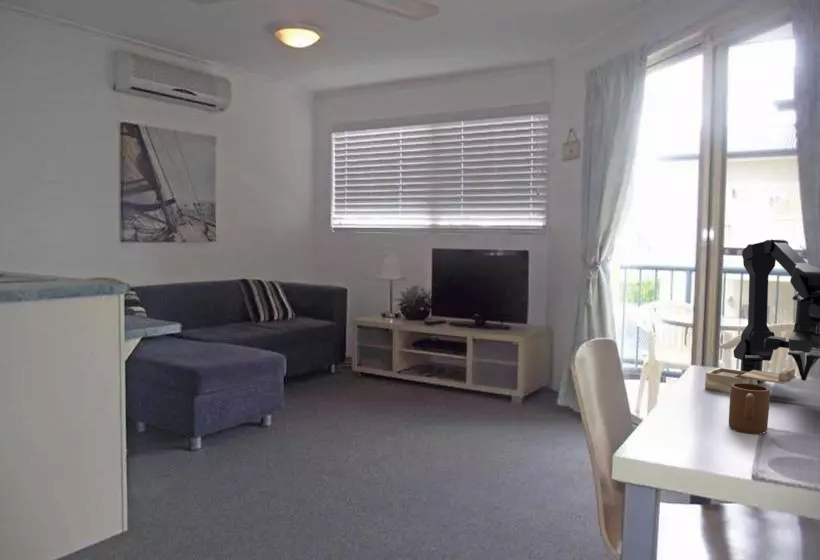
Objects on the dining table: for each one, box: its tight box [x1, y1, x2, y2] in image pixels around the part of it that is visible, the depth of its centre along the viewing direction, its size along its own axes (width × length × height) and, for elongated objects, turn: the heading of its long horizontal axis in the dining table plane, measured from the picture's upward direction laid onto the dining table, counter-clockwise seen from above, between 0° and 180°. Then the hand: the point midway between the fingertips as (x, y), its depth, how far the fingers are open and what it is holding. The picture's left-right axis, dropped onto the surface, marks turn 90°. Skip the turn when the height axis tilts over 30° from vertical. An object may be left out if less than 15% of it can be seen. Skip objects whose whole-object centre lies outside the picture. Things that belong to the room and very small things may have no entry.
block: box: [718, 372, 740, 378], centre depth 185 cm, size 4×4×4 cm
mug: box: [728, 383, 771, 435], centre depth 144 cm, size 12×8×9 cm, turn 153°
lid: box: [740, 367, 796, 385], centre depth 178 cm, size 11×10×2 cm
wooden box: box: [704, 367, 758, 394], centre depth 185 cm, size 11×10×4 cm
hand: (803, 380), depth 173 cm, fingers closed
